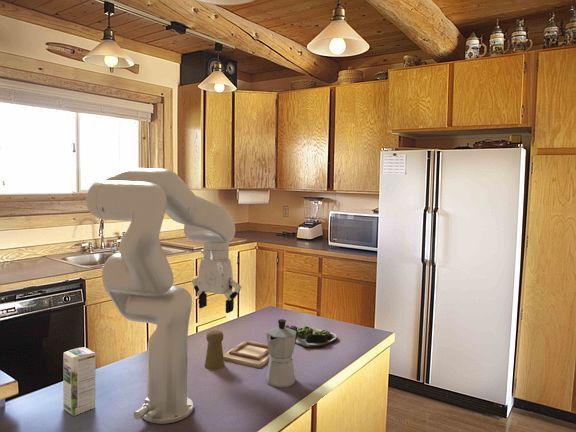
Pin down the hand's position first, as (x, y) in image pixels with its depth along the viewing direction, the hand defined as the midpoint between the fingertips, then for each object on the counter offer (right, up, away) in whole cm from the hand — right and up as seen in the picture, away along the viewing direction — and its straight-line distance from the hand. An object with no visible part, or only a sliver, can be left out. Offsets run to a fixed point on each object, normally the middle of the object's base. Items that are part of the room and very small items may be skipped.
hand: (215, 309), depth 139 cm
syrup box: (-30, -19, -26) cm, 44 cm away
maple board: (+10, -17, +10) cm, 23 cm away
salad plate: (+31, -17, +26) cm, 44 cm away
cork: (-1, -18, +1) cm, 18 cm away
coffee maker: (+21, -19, -7) cm, 29 cm away
